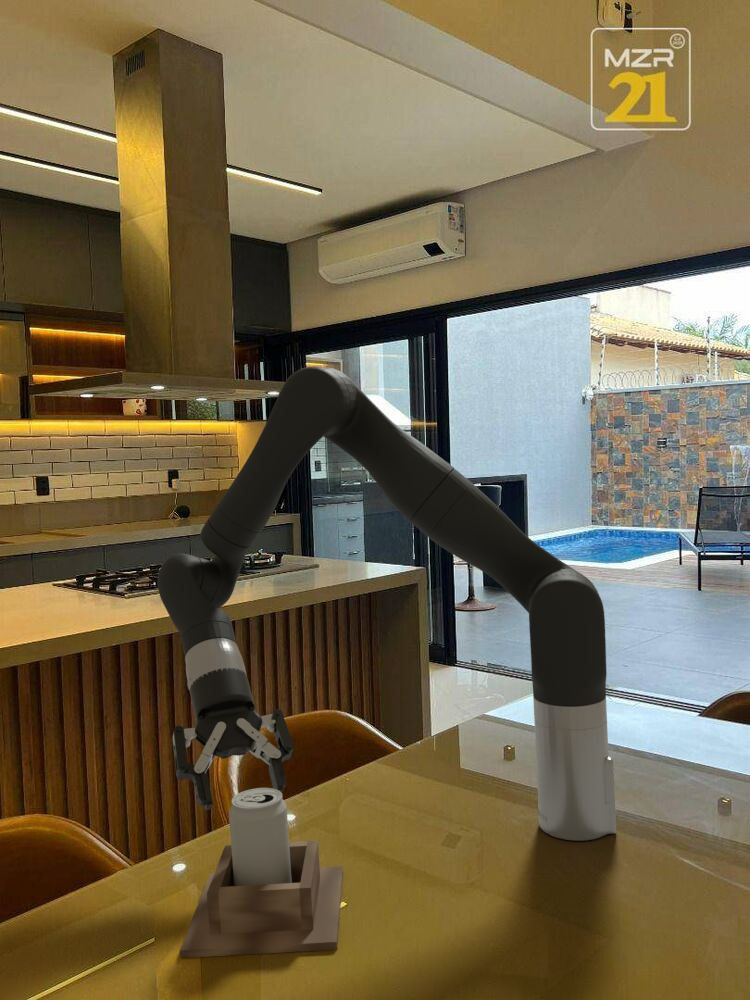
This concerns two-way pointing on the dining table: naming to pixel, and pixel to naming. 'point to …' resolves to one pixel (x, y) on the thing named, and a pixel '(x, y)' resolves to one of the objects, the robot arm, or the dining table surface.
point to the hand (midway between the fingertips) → (245, 799)
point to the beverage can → (259, 838)
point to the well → (268, 910)
